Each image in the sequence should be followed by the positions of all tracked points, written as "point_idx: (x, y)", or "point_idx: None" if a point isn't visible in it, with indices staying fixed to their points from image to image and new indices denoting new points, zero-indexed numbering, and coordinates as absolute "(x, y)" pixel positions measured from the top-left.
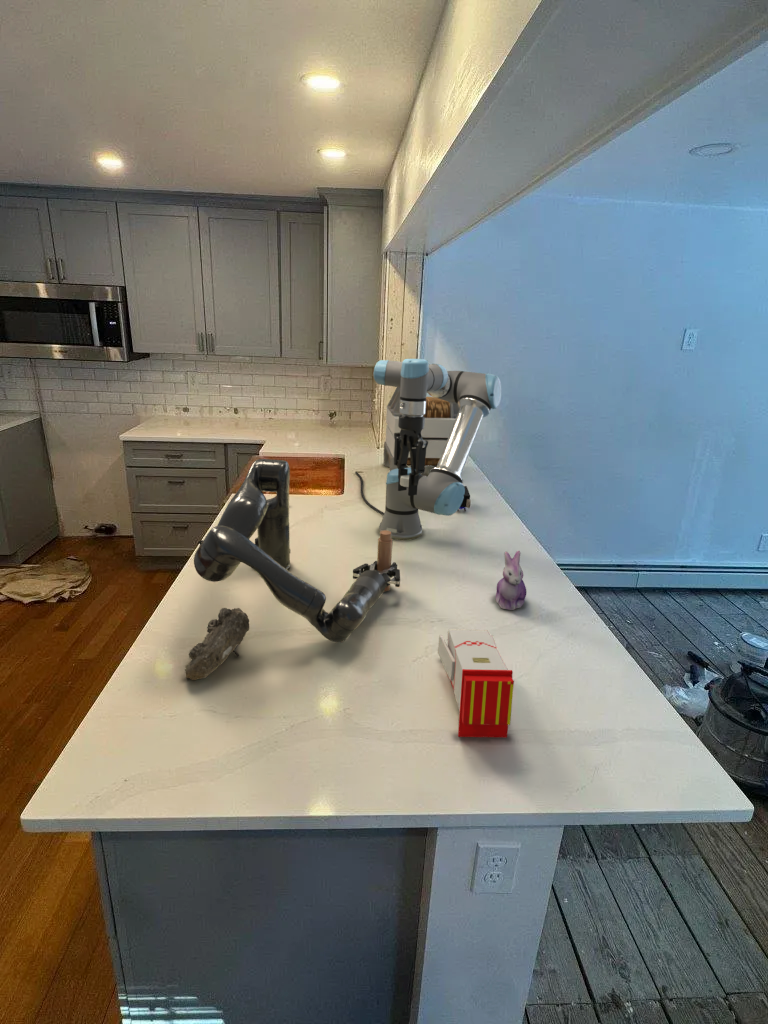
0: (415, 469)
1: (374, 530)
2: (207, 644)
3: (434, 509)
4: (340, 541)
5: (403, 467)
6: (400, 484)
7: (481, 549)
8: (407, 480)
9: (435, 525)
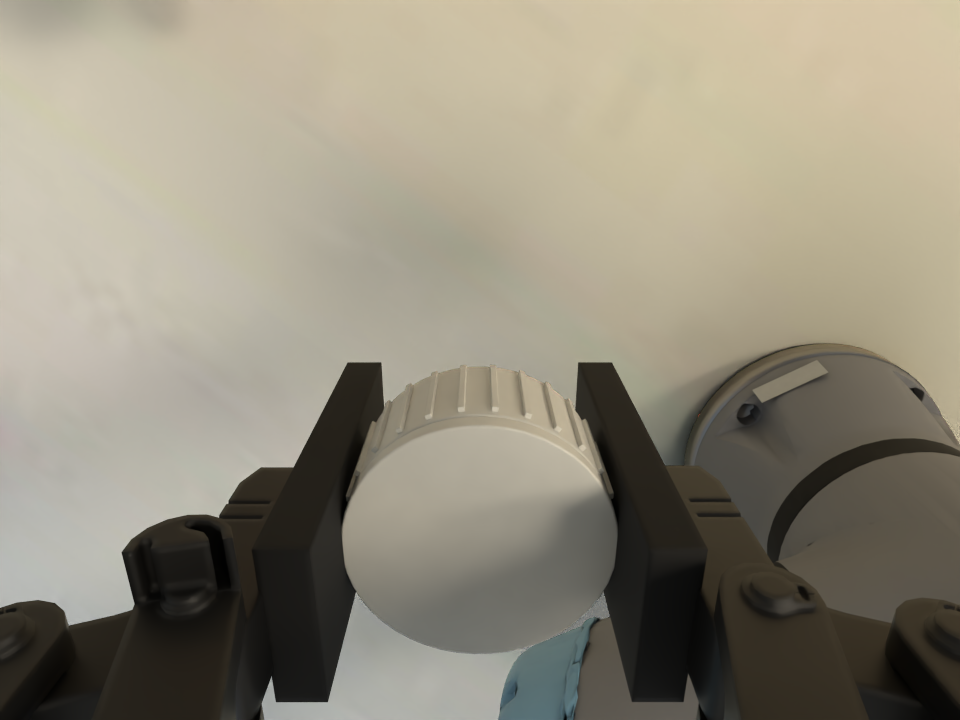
0: (13, 689)
1: (921, 349)
2: None
3: (586, 625)
4: (942, 65)
5: (699, 673)
6: (518, 373)
7: None
8: (371, 456)
9: None
